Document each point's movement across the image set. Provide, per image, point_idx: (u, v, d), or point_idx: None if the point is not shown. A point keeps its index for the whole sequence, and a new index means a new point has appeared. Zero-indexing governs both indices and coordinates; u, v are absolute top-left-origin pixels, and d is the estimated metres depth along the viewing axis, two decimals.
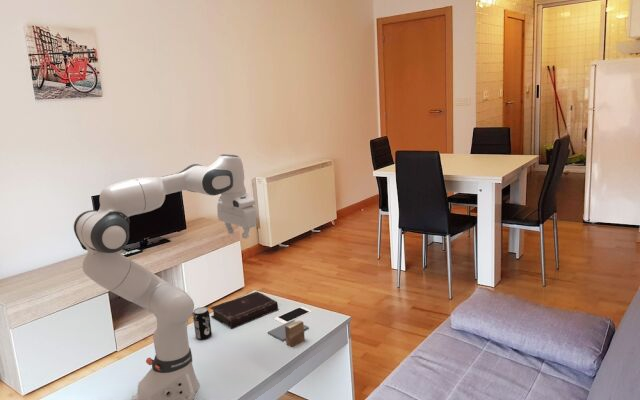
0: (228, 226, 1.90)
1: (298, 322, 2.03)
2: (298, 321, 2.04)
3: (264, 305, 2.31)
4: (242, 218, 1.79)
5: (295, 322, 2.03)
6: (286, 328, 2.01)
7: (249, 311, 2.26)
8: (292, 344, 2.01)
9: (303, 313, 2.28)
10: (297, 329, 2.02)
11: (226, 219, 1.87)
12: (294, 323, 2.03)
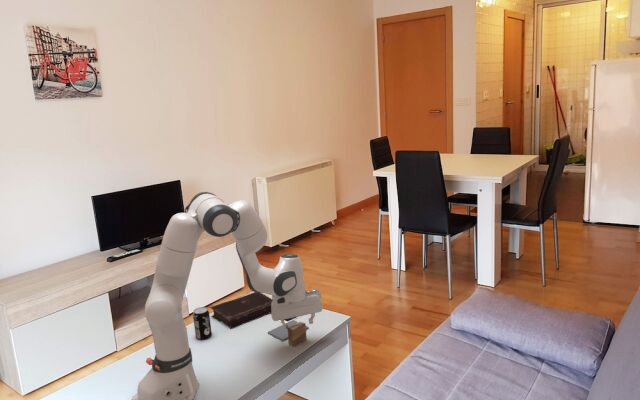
0: (311, 316, 2.04)
1: (300, 323, 2.04)
2: (300, 323, 2.05)
3: (264, 305, 2.31)
4: None
5: (297, 324, 2.04)
6: (289, 330, 2.01)
7: (249, 311, 2.26)
8: None
9: None
10: (299, 331, 2.02)
11: None
12: (296, 325, 2.03)
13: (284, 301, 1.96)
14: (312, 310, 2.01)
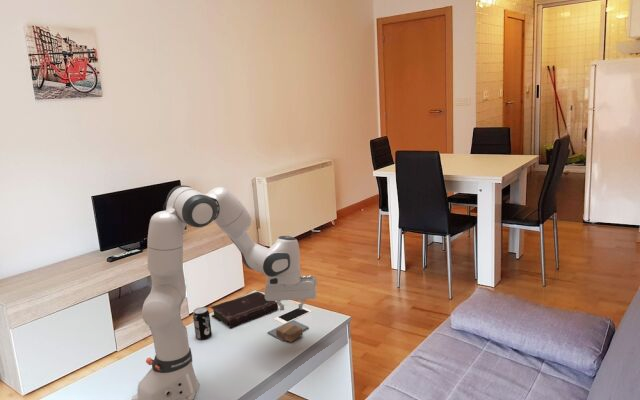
0: (301, 302, 2.01)
1: None
2: None
3: (264, 305, 2.31)
4: None
5: None
6: (277, 334, 2.08)
7: (248, 311, 2.26)
8: (289, 333, 2.03)
9: (303, 313, 2.28)
10: (286, 327, 2.09)
11: None
12: None
13: (277, 282, 1.95)
14: (305, 296, 1.98)
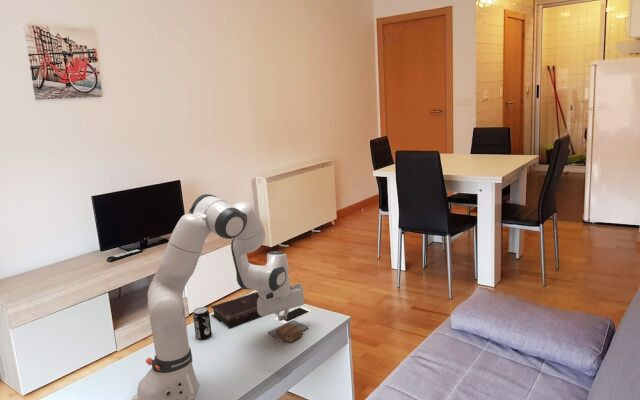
0: (285, 312, 2.14)
1: None
2: None
3: None
4: None
5: None
6: (277, 334, 2.08)
7: (248, 311, 2.26)
8: (289, 333, 2.03)
9: (303, 313, 2.28)
10: (286, 327, 2.09)
11: None
12: None
13: (272, 296, 2.05)
14: (296, 304, 2.13)
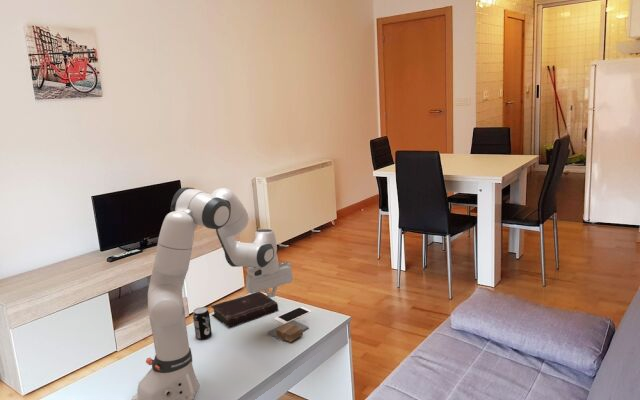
0: (273, 289, 2.17)
1: None
2: None
3: (264, 306, 2.30)
4: None
5: None
6: (277, 334, 2.08)
7: (248, 311, 2.26)
8: (289, 333, 2.03)
9: (303, 313, 2.28)
10: (286, 327, 2.09)
11: None
12: None
13: (261, 273, 2.08)
14: (284, 281, 2.16)
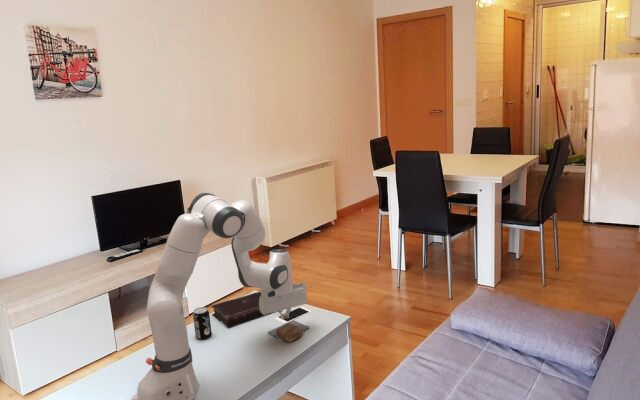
0: (287, 311, 2.12)
1: None
2: None
3: None
4: None
5: None
6: (277, 334, 2.08)
7: (247, 311, 2.26)
8: (289, 333, 2.03)
9: (303, 313, 2.28)
10: (286, 327, 2.09)
11: None
12: None
13: (274, 294, 2.04)
14: (298, 302, 2.11)
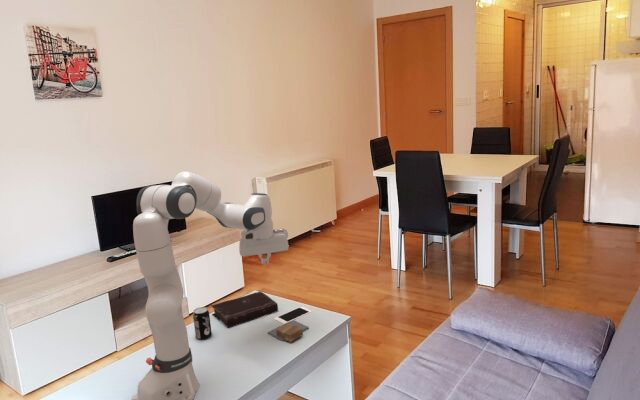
0: (267, 256, 2.13)
1: None
2: None
3: (263, 306, 2.30)
4: None
5: None
6: (277, 334, 2.08)
7: (247, 311, 2.26)
8: (289, 333, 2.03)
9: (303, 313, 2.28)
10: (286, 327, 2.09)
11: None
12: None
13: (252, 237, 2.06)
14: (278, 248, 2.11)
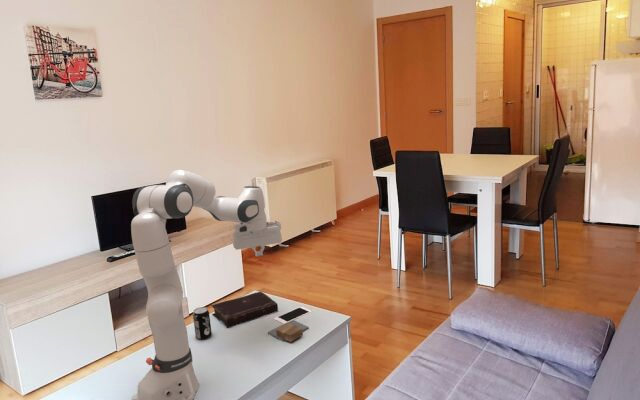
0: (261, 248, 2.15)
1: None
2: None
3: (263, 306, 2.30)
4: None
5: None
6: (277, 334, 2.08)
7: (247, 311, 2.26)
8: (289, 333, 2.03)
9: (303, 313, 2.28)
10: (286, 327, 2.09)
11: None
12: None
13: (246, 230, 2.07)
14: (272, 240, 2.13)
